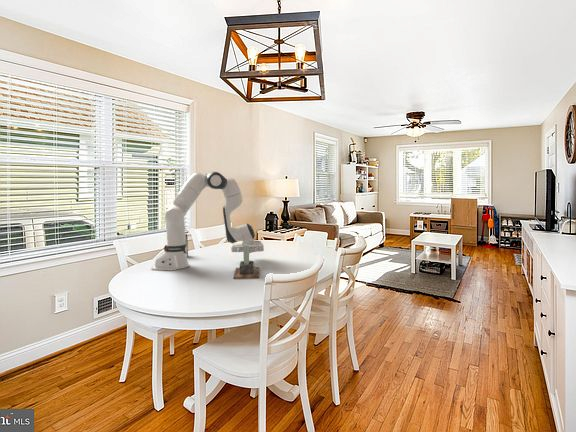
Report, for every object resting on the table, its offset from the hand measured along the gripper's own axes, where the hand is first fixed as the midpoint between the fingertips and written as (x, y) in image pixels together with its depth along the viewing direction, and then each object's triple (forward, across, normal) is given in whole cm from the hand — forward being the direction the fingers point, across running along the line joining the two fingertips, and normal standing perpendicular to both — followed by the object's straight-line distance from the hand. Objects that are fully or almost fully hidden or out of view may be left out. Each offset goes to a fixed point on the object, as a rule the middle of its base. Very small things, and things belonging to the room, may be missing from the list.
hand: (247, 250), depth 203 cm
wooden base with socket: (+10, 0, +12) cm, 15 cm away
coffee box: (-42, -50, +12) cm, 66 cm away
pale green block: (+10, 0, +10) cm, 14 cm away
